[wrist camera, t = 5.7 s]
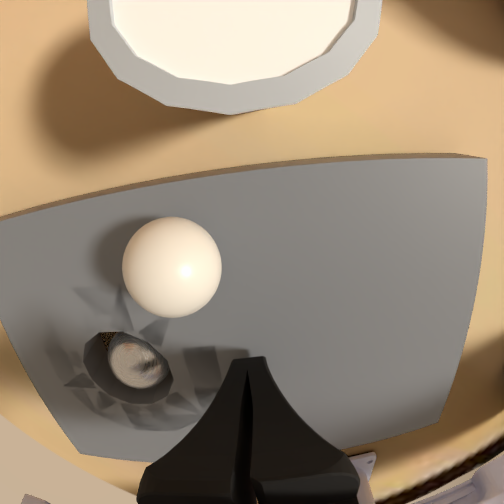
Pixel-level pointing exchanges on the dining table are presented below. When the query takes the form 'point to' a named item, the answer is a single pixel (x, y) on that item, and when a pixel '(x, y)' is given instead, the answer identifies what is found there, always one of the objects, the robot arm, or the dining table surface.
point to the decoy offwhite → (171, 267)
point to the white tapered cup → (232, 48)
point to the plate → (257, 296)
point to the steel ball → (136, 361)
